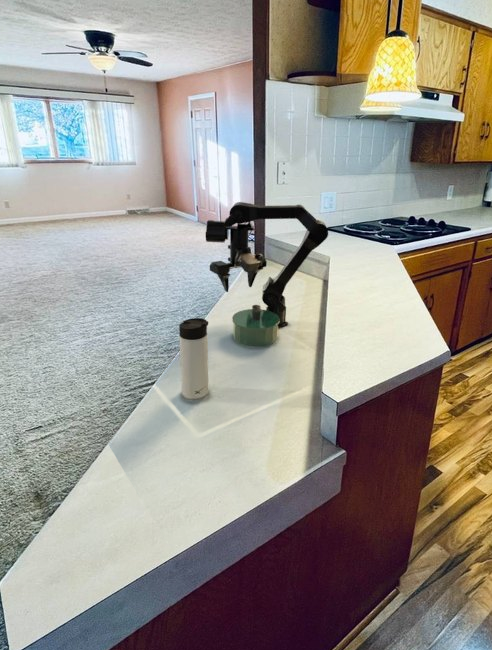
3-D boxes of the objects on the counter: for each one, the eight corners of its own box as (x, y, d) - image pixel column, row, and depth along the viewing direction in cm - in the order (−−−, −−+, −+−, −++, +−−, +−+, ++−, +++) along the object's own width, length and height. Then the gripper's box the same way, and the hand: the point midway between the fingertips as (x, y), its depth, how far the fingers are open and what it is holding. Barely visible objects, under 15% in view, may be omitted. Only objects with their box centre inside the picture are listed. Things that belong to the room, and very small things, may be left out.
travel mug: (203, 404, 97) (201, 328, 89) (177, 400, 98) (173, 324, 90) (213, 390, 102) (212, 317, 95) (188, 386, 104) (185, 313, 96)
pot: (260, 325, 139) (260, 307, 137) (286, 340, 130) (287, 322, 127) (225, 335, 131) (225, 316, 129) (250, 352, 121) (250, 333, 119)
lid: (261, 308, 138) (261, 294, 136) (289, 324, 127) (290, 309, 126) (223, 318, 129) (223, 303, 127) (250, 336, 118) (250, 320, 117)
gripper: (227, 253, 119) (227, 302, 125) (277, 245, 130) (275, 291, 136) (208, 244, 127) (209, 291, 133) (257, 238, 138) (256, 282, 144)
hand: (238, 289), depth 136 cm, fingers open, 9 cm apart
